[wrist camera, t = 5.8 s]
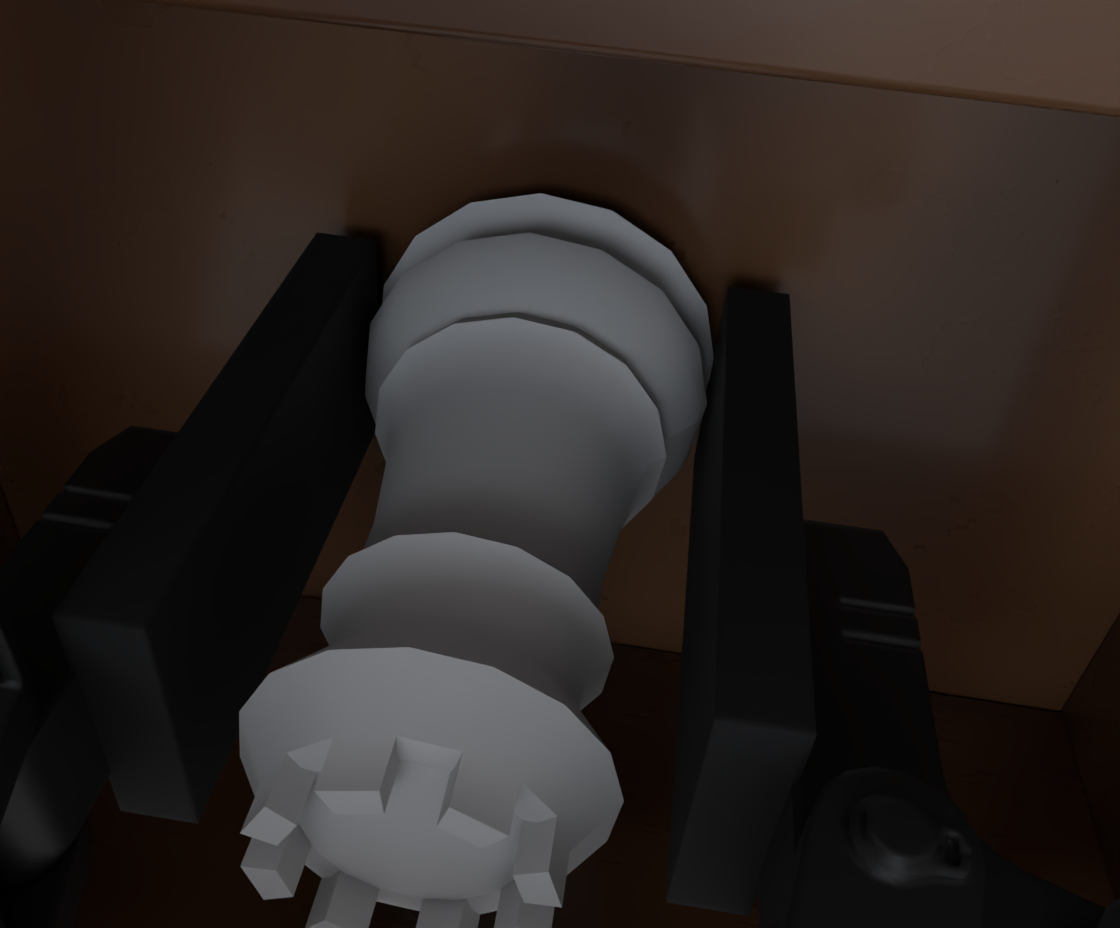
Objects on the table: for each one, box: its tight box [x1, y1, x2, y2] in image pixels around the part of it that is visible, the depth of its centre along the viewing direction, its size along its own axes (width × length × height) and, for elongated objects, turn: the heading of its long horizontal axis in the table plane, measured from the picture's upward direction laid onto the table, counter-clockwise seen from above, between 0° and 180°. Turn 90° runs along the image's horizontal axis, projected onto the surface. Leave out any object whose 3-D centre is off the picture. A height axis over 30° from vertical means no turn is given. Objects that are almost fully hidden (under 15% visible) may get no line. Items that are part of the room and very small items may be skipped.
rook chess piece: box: [239, 193, 714, 928], centre depth 11 cm, size 4×4×8 cm
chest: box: [0, 0, 1120, 928], centre depth 12 cm, size 19×13×8 cm
